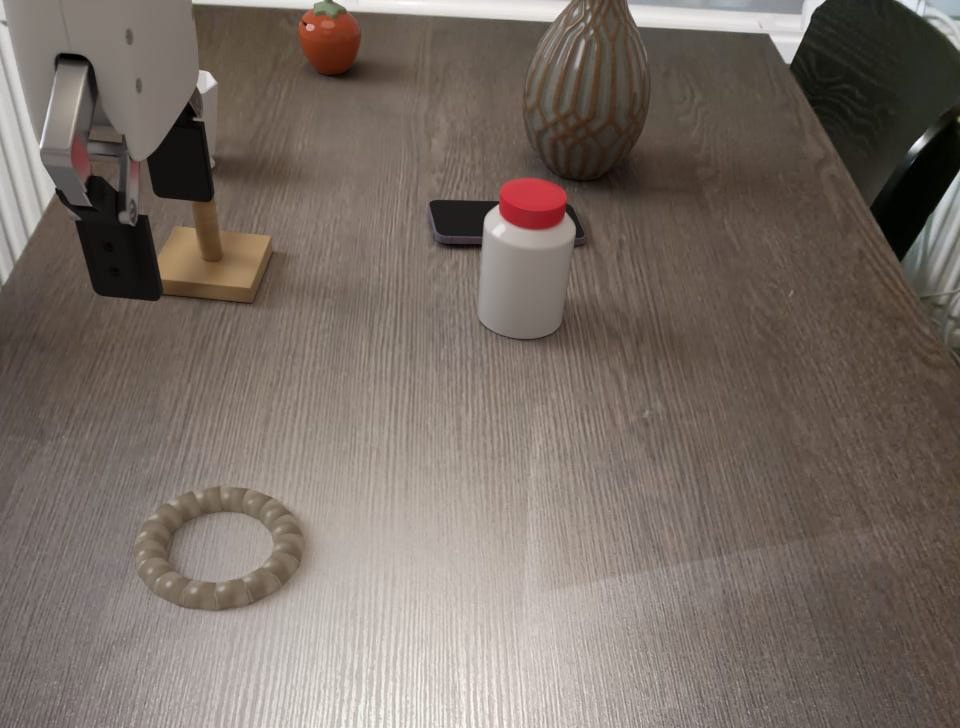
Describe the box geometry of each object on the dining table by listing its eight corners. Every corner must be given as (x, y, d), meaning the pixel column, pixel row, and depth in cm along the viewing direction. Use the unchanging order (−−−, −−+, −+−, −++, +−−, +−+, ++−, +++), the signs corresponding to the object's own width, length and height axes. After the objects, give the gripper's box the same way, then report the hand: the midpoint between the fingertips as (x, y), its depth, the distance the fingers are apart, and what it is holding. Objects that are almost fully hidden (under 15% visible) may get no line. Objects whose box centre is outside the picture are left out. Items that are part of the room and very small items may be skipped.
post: (150, 293, 85) (121, 160, 76) (177, 240, 90) (153, 111, 82) (252, 303, 85) (236, 172, 76) (273, 250, 91) (260, 122, 82)
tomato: (300, 55, 119) (295, -20, 113) (361, 57, 120) (359, -17, 114) (299, 80, 115) (294, 3, 108) (362, 82, 116) (361, 6, 109)
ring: (116, 610, 62) (109, 589, 61) (163, 494, 69) (158, 473, 67) (287, 627, 62) (284, 606, 61) (317, 509, 69) (315, 488, 68)
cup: (153, 179, 97) (137, 94, 91) (166, 135, 104) (152, 52, 97) (225, 182, 98) (213, 97, 92) (233, 137, 104) (223, 55, 98)
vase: (607, 135, 111) (637, -44, 98) (655, 190, 104) (694, 4, 90) (500, 143, 108) (516, -41, 94) (541, 200, 100) (564, 9, 87)
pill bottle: (498, 346, 83) (510, 223, 75) (463, 298, 88) (471, 177, 79) (577, 330, 86) (597, 210, 77) (539, 285, 90) (555, 166, 82)
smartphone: (588, 239, 95) (436, 236, 92) (586, 250, 95) (436, 247, 93) (571, 202, 99) (426, 198, 96) (569, 212, 100) (426, 209, 97)
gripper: (53, -246, 41) (136, 159, 55) (-142, -145, 30) (21, 332, 44) (227, -229, 41) (268, 173, 55) (95, -121, 30) (187, 349, 44)
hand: (159, 243), depth 49 cm, fingers open, 9 cm apart
